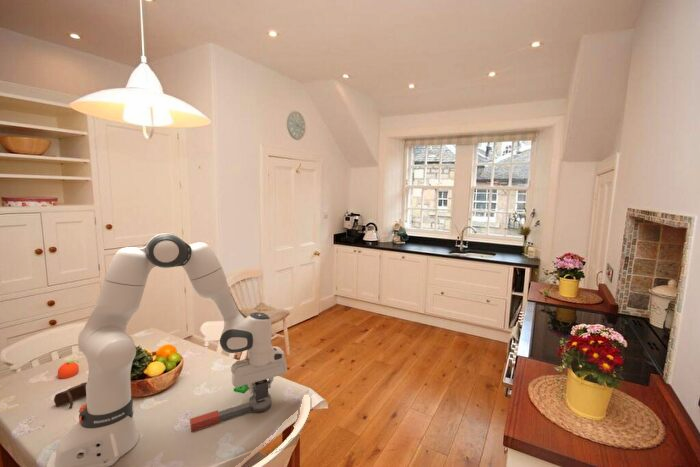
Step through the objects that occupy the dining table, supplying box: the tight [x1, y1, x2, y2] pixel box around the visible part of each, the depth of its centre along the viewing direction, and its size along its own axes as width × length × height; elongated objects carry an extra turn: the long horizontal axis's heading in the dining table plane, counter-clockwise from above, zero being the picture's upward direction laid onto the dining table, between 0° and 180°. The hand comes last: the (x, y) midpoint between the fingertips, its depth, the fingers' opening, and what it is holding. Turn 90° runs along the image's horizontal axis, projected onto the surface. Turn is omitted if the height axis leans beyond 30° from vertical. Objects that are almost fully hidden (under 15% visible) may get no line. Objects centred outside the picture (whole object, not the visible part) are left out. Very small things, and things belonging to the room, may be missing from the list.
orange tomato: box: [57, 360, 80, 380], centre depth 139 cm, size 8×7×7 cm
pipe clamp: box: [233, 383, 253, 394], centre depth 137 cm, size 11×4×5 cm
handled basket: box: [53, 381, 87, 409], centre depth 120 cm, size 18×12×7 cm, turn 58°
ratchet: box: [189, 393, 272, 432], centre depth 118 cm, size 28×8×6 cm, turn 122°
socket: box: [252, 379, 269, 400], centre depth 123 cm, size 5×5×6 cm
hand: (260, 390), depth 123 cm, fingers closed on socket, 5 cm apart
